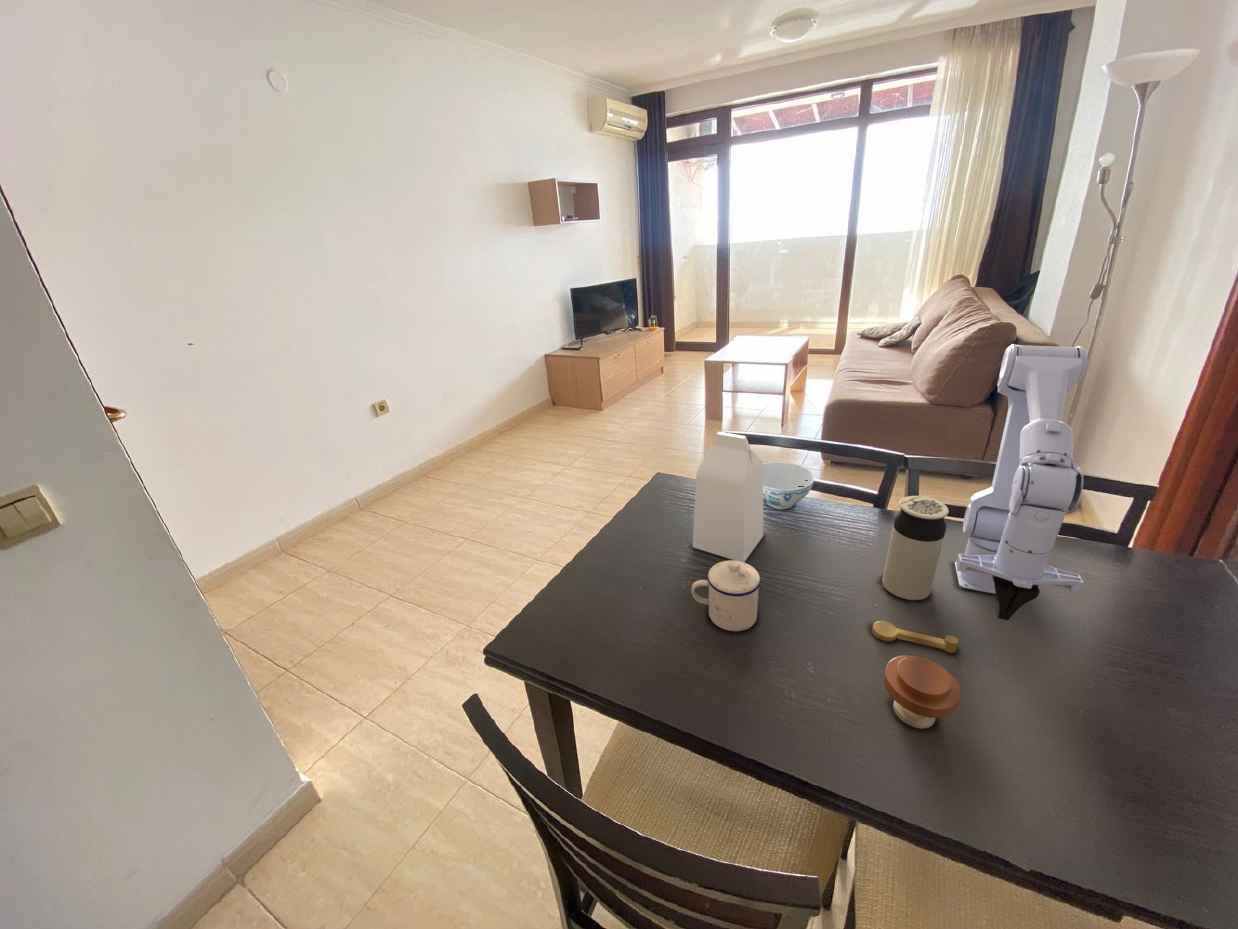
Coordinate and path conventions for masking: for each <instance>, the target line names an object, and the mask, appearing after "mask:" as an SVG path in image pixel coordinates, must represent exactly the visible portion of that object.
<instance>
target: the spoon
mask: <svg viewBox="0 0 1238 929" xmlns="http://www.w3.org/2000/svg"><path fill="white" fill-rule="evenodd" d="M871 632H872V634H873V635H874V636H875V637H876V638H877V639H879V640H881V641H884V642H894V641H895V640H896V639H898V640H902V641H905V642H911V643H914V644H918V645H923V646H926V647H932V648H935V649H940V650H944V651H946V652H947V653H949V654H950V653H951V654H952V653H953V654H954V653H955V652H956V651H957V648H958V644H959V639H958V638H957V637H956V636H954V635H952V634H951V635H950V634H949V635H945V637H944V638H940V637H937V636H932V635H927V634H923V633H919V632H915V631H910V630H906V629H901V628H897V627H896V626H895V624H893V623H891V622H889V621H885V620H877V621H875V622H874V623H873V624H872V628H871Z"/></svg>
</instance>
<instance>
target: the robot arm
mask: <svg viewBox="0 0 1238 929" xmlns="http://www.w3.org/2000/svg"><path fill="white" fill-rule="evenodd" d="M1087 363H1088V352H1087V350H1086V349H1085V347H1084V346H1081V345H1079V346H1078V345H1077V346H1051V345H1050V346H1049V345H1025V344H1023V345H1021V344H1016V343H1012V344H1011V345H1009V346H1008V347H1006V349H1005V351H1004V354H1003V357H1002V360H1001V366H1000V370H999V376H998V380H997V393H999V394H1001V395H1003V396H1005V397H1007V403H1008V406H1007V407H1008V409H1007V413H1006V419H1005V423H1004V427H1003V432H1002V437H1001V441H1000V446H999V450H998V454H997V459H996V463H995V464H996V465H995V469H994V472H993V477H992V482H991V486H990V487H988V488H986V489H984V490H980V491H979V492H976V493H973V494H972V495H971V497H970V498H969V501H968V505H967V506H966V509H965V513H964V516H963V524H962V533H963V534H964V535H965V537H966V538H968V541H967V544H966V548H965V551H964V554H963V553H958V554H957V560H956V561H955V562H954V567H955V572H956V576H957V580H958V581H957V582H958V586H959V587H960V588H962V589H966V590H972V591H976V592H982V593H987V594H992V595H995V601H996V602H995V614H996V617H997V619H999V620H1003V621H1009V620H1010V619H1011V618H1012V617H1013V615H1014V614H1015V613H1016V612H1017V611H1019V609H1020V608H1022V607H1023V606H1024V605H1026V604H1027V603H1029V602H1031V601H1033V600H1035V599H1037V598H1038V597H1039V595H1040V593H1041V591H1040V588H1039V586H1052V587H1059V588H1063V589H1068V590H1069V591H1070V592H1072V593H1077V594H1080V592H1081V591H1082V588H1083V585H1084V580H1083V578H1082V576H1081V574H1080V573H1075V572H1071V571H1067V570H1063V569H1061V568H1057V567H1054V566H1051V565H1048V562H1049V559H1050V557H1051V554H1052V552H1053V550H1054V546H1055V543H1056V540H1057V538H1058V536H1059V533H1060V530H1061V527H1062V525H1063V522H1064V520H1065V517H1066V514H1067V510H1068V511H1069V512H1073V511H1075V510H1076V508H1077V507H1078V505H1079V503H1080V500H1081V497H1082V494H1083V487H1084V472H1083V470H1082V468H1081V467H1080V463H1079V462H1077V461H1075V458H1074V432H1073V429H1072V427H1071V426H1070V425H1069V424H1068V423H1066V422H1064V421H1063V419H1064V410H1065V402H1066V395H1067V394H1069V392H1070V391H1073V390H1074V388H1075V386H1076V385H1078V384H1079V383H1080V382H1081V380H1082V379H1083V377H1084V374H1085V371H1086V368H1087Z"/></svg>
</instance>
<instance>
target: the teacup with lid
mask: <svg viewBox="0 0 1238 929" xmlns="http://www.w3.org/2000/svg"><path fill="white" fill-rule="evenodd" d="M760 586H761V577H760V575H759V572H758V571H757V570H756V568H755V567H753V566H752V565H750V564H748V563H746V562H740V561H735V560H732V559H729V560H724V561H723V560H722V561H720V562H718V563H715V564H714V565H712V567H711V568H710V569H709V570H708V573H707V579H699V580H696V581H695V582H693V583H692V585H691V588H690V592H691V595H692V597H693V599H694V600H695V601H696V602H698V603H699V604H702V605H708V616H709V618H710V620H711V622H712V624H714V625H716V626H717V627H718V628H720V629H722V630H726V631H730V632H742V631H745V630H748V629H750V628H751V627H753V626H754V624H755V623H756V621H757V619H758V604H759V602H758V601H759V587H760ZM699 587H708V598H707V597H703V596H701V595H699V593H697V591H696V589H697V588H699Z"/></svg>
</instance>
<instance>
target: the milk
mask: <svg viewBox="0 0 1238 929" xmlns="http://www.w3.org/2000/svg"><path fill="white" fill-rule="evenodd" d="M763 464H764V463H763V461H762V460H761V458H760V457H759V456H758V455H757V454H756V453H755V451H753V450H752V449H751V445H750V443H749V441H748V438H747V436H746V435H741V434H735V433H729V432H724V431H718V432H717V433H715V436H714V438H713V439H712V442H711V443H710V446H709V447H708V449H707V451H706V453H705V455H704V457H703V459H702V460H701V462H700V464H699V466H698V468H697V471H696V476H695V491H694V509H693V512H694V514H693V529H692V548H693V549H697V550H700V551H703V552H707V553H710V554H714V555H716V556H720V557H721V558H722V557H723V558H726V559H728V560H732V561H740V562H744V563H746V561H747V560H748V558H749V557H750V555H751V554H752V552H753V551H754V549H755V548H756V547H757V546H758V544H759V543H760V541H761V540H762V539H763V537H764V500H763Z"/></svg>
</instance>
